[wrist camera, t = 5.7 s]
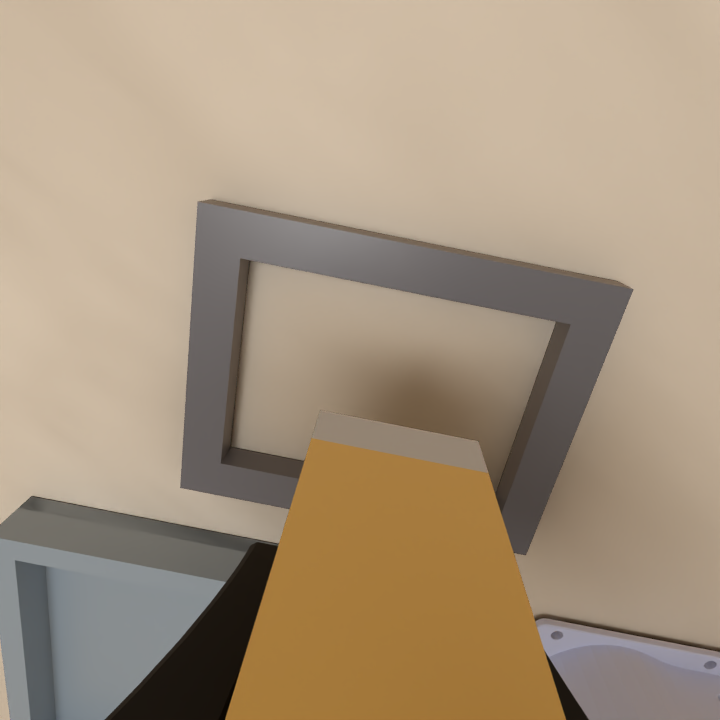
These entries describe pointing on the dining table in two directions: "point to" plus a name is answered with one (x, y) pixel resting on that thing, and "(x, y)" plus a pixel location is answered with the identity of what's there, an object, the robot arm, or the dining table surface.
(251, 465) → the holder frame
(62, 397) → the dining table surface
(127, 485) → the dining table surface
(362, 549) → the block
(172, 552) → the parts tray
